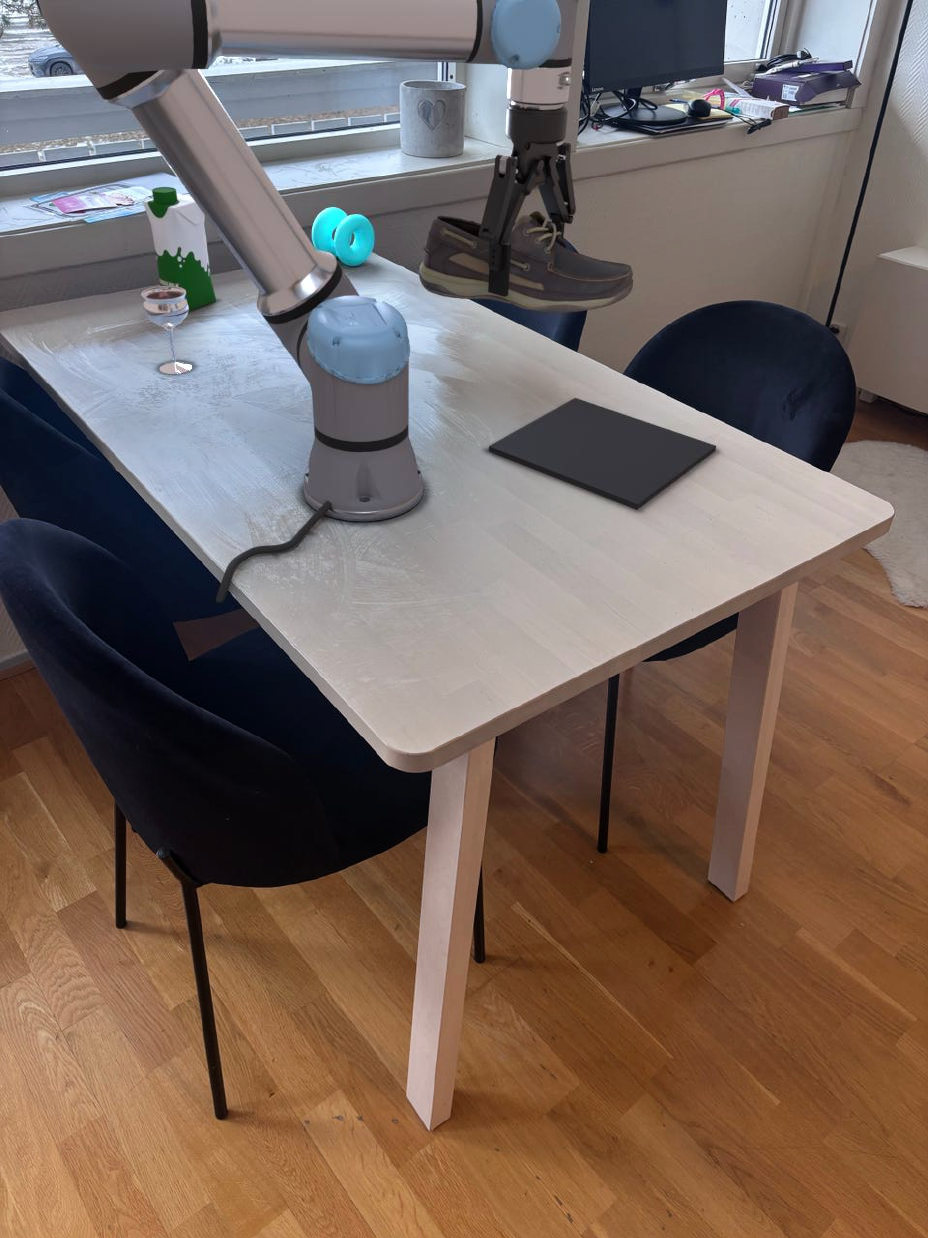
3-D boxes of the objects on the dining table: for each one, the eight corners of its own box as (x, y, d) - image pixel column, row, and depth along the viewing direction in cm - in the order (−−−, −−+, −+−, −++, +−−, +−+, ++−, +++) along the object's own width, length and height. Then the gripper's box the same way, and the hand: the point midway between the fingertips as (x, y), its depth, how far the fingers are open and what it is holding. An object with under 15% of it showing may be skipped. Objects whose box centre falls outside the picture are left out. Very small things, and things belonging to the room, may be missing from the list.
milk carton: (154, 303, 176) (135, 187, 164) (189, 290, 183) (174, 178, 171) (188, 313, 173) (172, 196, 161) (223, 300, 179) (210, 186, 167)
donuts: (342, 271, 195) (339, 220, 189) (310, 260, 200) (307, 210, 194) (378, 262, 201) (377, 212, 195) (346, 251, 206) (344, 202, 200)
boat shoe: (627, 322, 125) (640, 237, 118) (409, 301, 128) (409, 217, 122) (630, 296, 133) (642, 215, 127) (425, 277, 137) (427, 197, 130)
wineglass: (145, 373, 151) (132, 297, 144) (166, 357, 156) (154, 283, 149) (185, 378, 150) (173, 302, 143) (204, 362, 155) (194, 288, 148)
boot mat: (637, 509, 122) (637, 504, 122) (488, 451, 134) (488, 445, 133) (715, 450, 136) (716, 445, 136) (574, 402, 148) (575, 397, 147)
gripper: (505, 120, 107) (495, 311, 120) (614, 96, 123) (594, 268, 136) (452, 111, 110) (448, 297, 124) (564, 89, 126) (550, 257, 139)
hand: (525, 282), depth 130 cm, fingers closed on boat shoe, 12 cm apart
